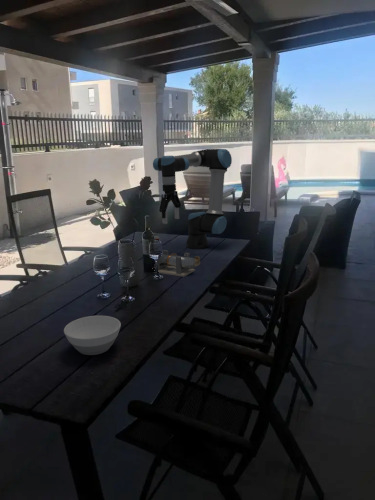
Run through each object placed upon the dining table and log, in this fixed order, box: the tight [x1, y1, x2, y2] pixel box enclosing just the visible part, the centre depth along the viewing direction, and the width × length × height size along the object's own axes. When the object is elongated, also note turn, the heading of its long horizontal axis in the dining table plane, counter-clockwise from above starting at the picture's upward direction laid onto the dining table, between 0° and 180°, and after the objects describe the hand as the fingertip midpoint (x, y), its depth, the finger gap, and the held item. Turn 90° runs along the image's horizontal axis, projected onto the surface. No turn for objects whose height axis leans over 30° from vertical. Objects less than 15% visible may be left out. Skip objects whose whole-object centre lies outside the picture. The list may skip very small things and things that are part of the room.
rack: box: [170, 252, 201, 268], centre depth 251 cm, size 19×9×4 cm, turn 60°
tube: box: [159, 253, 195, 269], centre depth 236 cm, size 22×6×6 cm, turn 60°
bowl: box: [63, 315, 122, 356], centre depth 151 cm, size 20×19×8 cm
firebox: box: [153, 249, 196, 278], centre depth 238 cm, size 22×12×10 cm, turn 60°
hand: (171, 221), depth 247 cm, fingers open, 13 cm apart
